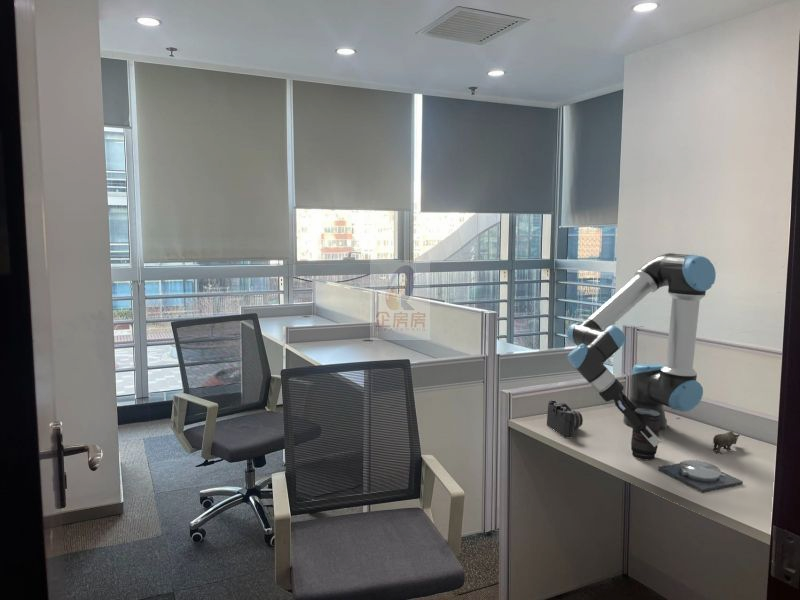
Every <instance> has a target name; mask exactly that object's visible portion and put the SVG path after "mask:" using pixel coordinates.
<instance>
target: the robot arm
mask: <svg viewBox="0 0 800 600" xmlns="http://www.w3.org/2000/svg"><path fill="white" fill-rule="evenodd" d="M633 275H634V277H633V278H632V279H630V280H629V281H628V282H627V283H626V284H625V285H624V286H623V287H621V288H620V289H619V290H618V291H617V292H616V293H615V294H613V295H612V296H611V297H610V298H608V300H606V302H605V303H603V304H601V306H600V307H599V308H598V309H597V310H595V311H594V312H593V313H592V314H591V315H590V316H588V318H586V319H585V320H584V321H583V322H582V323H572V324H571V325H570V326H569V327H568V329H567V331H566V332H567V333H566V337H567V339H568V341H569V342H570V343H572V344H574V345H576V347H575V348H573V349H572V350H571V351H570V352H569V353H568V354H567V360H568V361H569V363H570V364H571V365H572V366H573V368H574V369H575V370H576V371H577V372H579V374H580V375H581V376H582V377H583V378H584V379H585V380H586V382H587V383H589V384H590V385H589V388H591V389H592V388H593V389H594V390H595V391H596V392H598V396H601V398H602V400H604V401H605V402H606V403H607V402H611V401H612V400H613V401H614V405H615V407H617V409H618V410H619V411H620V412H621V413H622V414H623V420H622V421H623V423H624V424H625V425H627V426H629V427H631V428H633V426H634V427H635V428H636V429H637V432H638V433H639V432H641V433H642V434H643V435H644V436H645V437H646V439H647V440H648V441H649V442H650V443H651V444H652V445H653V446H654V447H655V446H657V445H659V444H661V443H662V440H660V439H659V436H658V437H657V436H656V435H655V434H654V433H653V432H652V431H651V430H650V429H649V428H648V426H647V425H645V424H644V423H643V422H642V421H641V419H640V418H639V417H638V416H637V414H636V413H635V412H634V411H635V409H638V408H643V409H650V410H654V411H657V412H659V413H660V417H661V419H660V428H659V431H663V430H664V431H665V430H666V429H667V426H668V420H667V418H666V413H665V408H664V406H666V407H668V408H670V409H671V410H674V411H678V412H681V413H682V412H683V413H684V412H685V413H686V412H690V411H692V410H693V409H695V408H696V407H697V406H698V405H699V404H700V402H701V400H702V399H703V395H704V390H703V389H704V388H703V386H702V384H701V383H700V382H699V381H698V380H697V378H698V376H697V375H698V373H697V371H696V370H695V369H694V368H693V367H694V358H695V350H696V349H695V348H696V338H697V331H698V321H699V320H698V319H699V311H700V301H701V300H702V299H703V298H704V297H706V293H707V292H706V291H708V290H710V289H711V288H712V287H713V286H712V285H714V284H715V282H716V275H717V273H716V268H715V265H714V263H712V262H711V260H710V259H709V258H707V257H705V256H702V255H697V254H681V253H673V252H670V253H664V254H663V253H662V254H661V255H659V256H656V257H655V258H653V259H651V260H650V261H648V262H646V263H645V264H643V265H642V266H641V267H639V269H637V270H636V271H635V273H634V274H633ZM663 287H668V289H667V293H668V295H670V297H671V306H670V307H671V309H670V317H669V328H668V339H667V348H666V359H665V364H659V363H637V364H635V365H633V367H632V371H631V374H630V375H631V377H630V378H631V379H630V380H631V381H630V393H629V394H630V395H629V396H630V397H629V398H628V396H627V395H626V394H624V393H623V391H624V389H625V387H624V385H623V384H622V383H621V382H620V380H618V379H616V377H615V375H614V374H613V373H612V372H611V371H610V370H609V369H608V368H607V367H606V366H605V364H604V363H606V361H607V360H608V359H610V358H611V357H612V356H613V355H614V354H616V352H618V351H619V350H620V349H621V347H622V346H623V345H624V344H625V343H626V341H627V337H626V334H625V333H624V332H623V331H622V329H620V328H619V327H618V326H616V325H615V324H616V323H617V322H619V320H620V319H621V318H622V317H624V315H626V314H627V313H628V312H630V310H631V309H632V308H634V307H635V306H636V305H638V303H640V301H642V300H643V299H644V298H645V297H646V296H647V295H649V293H655V292H656V291H658V289H661V288H663ZM640 425H641V426H640ZM665 428H666V429H665ZM657 447H658V446H657Z"/></svg>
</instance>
